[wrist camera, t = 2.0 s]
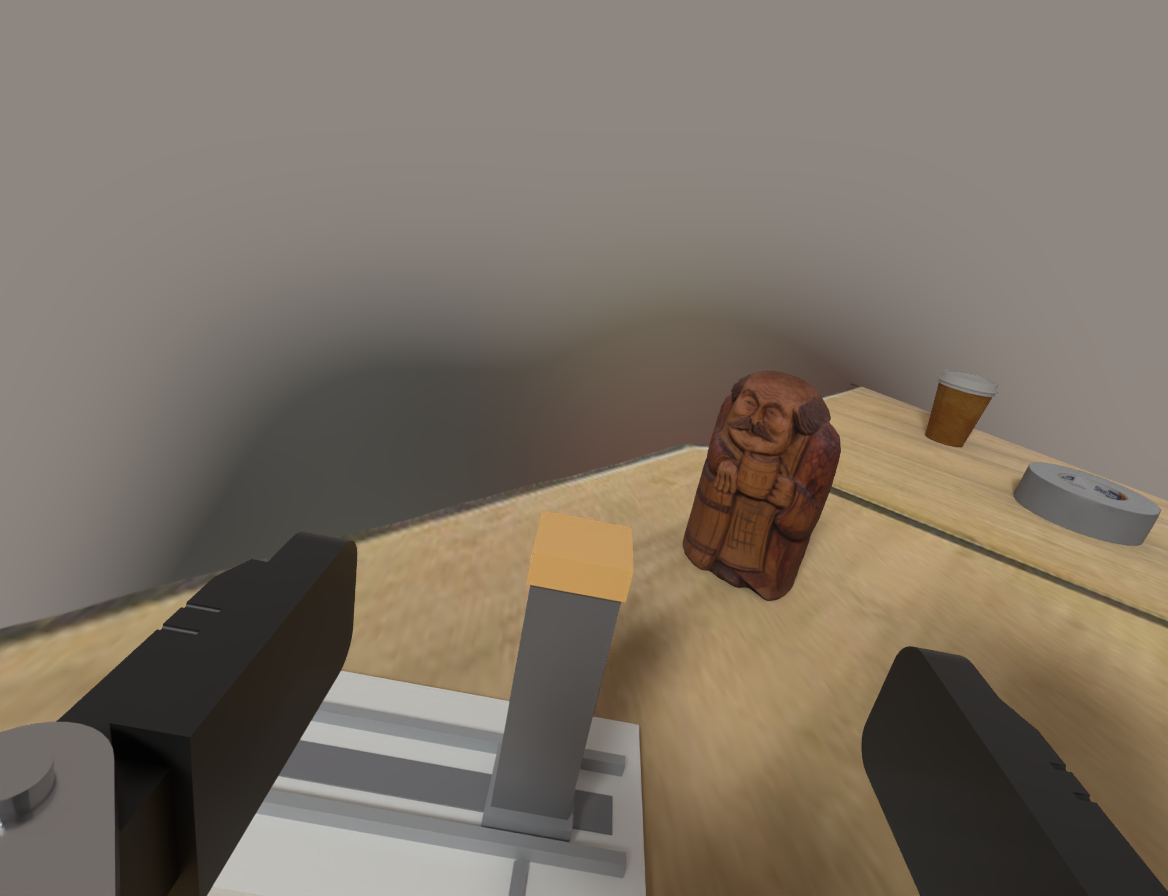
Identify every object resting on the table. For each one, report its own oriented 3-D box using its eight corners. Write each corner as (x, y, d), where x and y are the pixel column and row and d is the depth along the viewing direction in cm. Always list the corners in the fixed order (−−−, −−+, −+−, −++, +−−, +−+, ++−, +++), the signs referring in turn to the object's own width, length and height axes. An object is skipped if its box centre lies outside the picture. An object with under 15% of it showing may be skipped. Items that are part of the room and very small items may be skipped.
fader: (574, 769, 32) (633, 524, 26) (569, 843, 28) (636, 576, 23) (496, 754, 32) (540, 506, 26) (480, 828, 28) (528, 556, 23)
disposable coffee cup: (963, 439, 117) (990, 377, 113) (980, 455, 108) (1009, 389, 104) (910, 426, 119) (934, 365, 114) (922, 441, 110) (949, 376, 106)
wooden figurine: (658, 546, 58) (707, 357, 51) (694, 528, 62) (743, 353, 56) (775, 613, 51) (849, 405, 44) (805, 587, 56) (876, 396, 49)
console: (634, 734, 36) (641, 708, 36) (642, 992, 24) (654, 961, 24) (171, 651, 36) (169, 622, 35) (-52, 872, 24) (-62, 836, 23)
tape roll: (1163, 541, 85) (1182, 508, 83) (1110, 552, 78) (1131, 516, 76) (1046, 490, 98) (1061, 460, 96) (991, 495, 90) (1006, 463, 88)
